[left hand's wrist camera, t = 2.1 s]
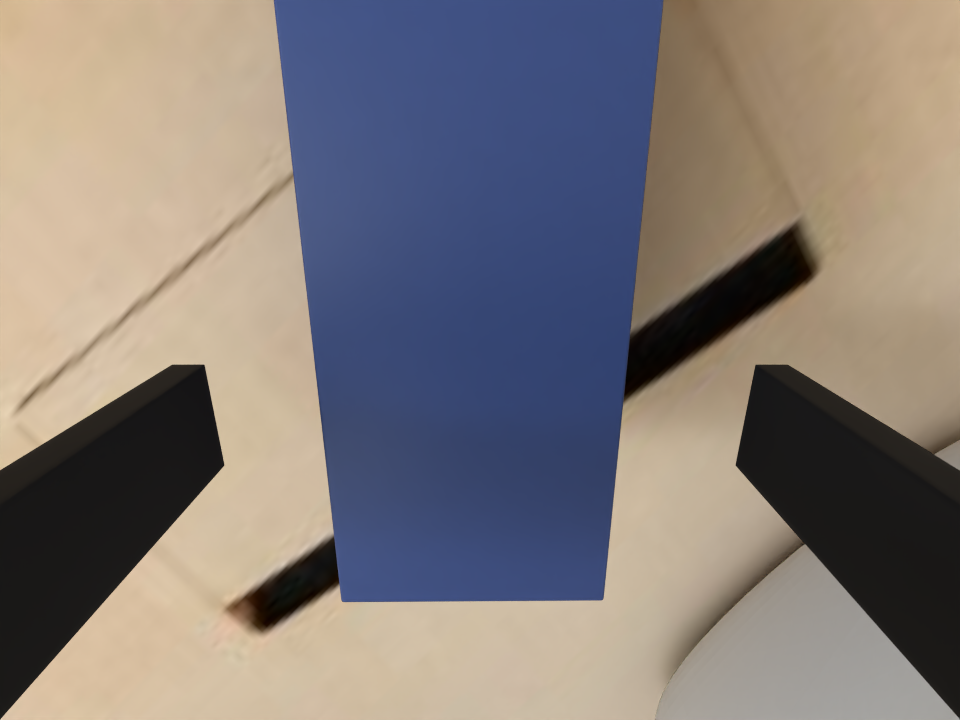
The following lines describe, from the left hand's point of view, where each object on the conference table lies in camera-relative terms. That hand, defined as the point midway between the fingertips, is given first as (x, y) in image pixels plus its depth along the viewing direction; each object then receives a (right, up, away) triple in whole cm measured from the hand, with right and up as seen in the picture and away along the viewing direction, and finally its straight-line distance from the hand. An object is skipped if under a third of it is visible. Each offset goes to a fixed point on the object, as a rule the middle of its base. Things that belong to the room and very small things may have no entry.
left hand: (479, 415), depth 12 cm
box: (0, +11, +6) cm, 13 cm away
